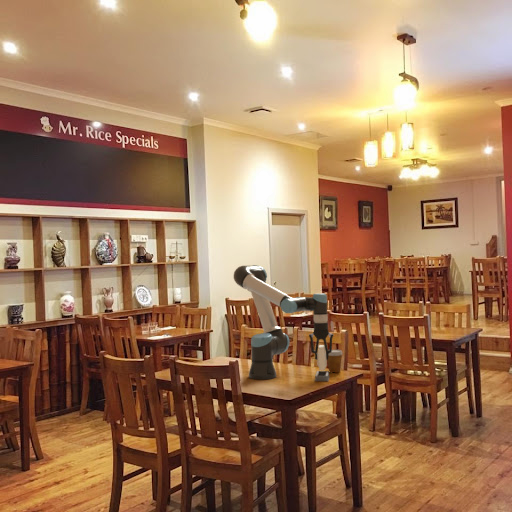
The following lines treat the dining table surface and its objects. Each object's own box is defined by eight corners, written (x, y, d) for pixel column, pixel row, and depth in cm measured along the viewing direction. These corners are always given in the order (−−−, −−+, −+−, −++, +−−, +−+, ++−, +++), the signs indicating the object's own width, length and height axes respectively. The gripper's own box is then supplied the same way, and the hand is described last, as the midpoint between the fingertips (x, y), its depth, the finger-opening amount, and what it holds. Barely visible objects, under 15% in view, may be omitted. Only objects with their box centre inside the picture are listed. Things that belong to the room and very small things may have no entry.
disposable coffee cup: (342, 370, 317) (342, 349, 317) (343, 373, 307) (342, 352, 307) (325, 370, 318) (325, 349, 318) (326, 373, 308) (325, 352, 308)
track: (314, 381, 289) (314, 376, 289) (316, 375, 303) (316, 370, 303) (328, 381, 288) (328, 376, 288) (329, 375, 302) (329, 370, 302)
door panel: (319, 367, 300) (318, 345, 301) (325, 367, 300) (324, 345, 300) (318, 370, 292) (317, 347, 292) (324, 370, 291) (324, 347, 291)
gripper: (304, 323, 294) (306, 366, 294) (335, 322, 291) (337, 367, 291) (306, 321, 301) (307, 364, 301) (336, 321, 299) (337, 364, 298)
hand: (322, 365), depth 296 cm, fingers closed on door panel, 3 cm apart
